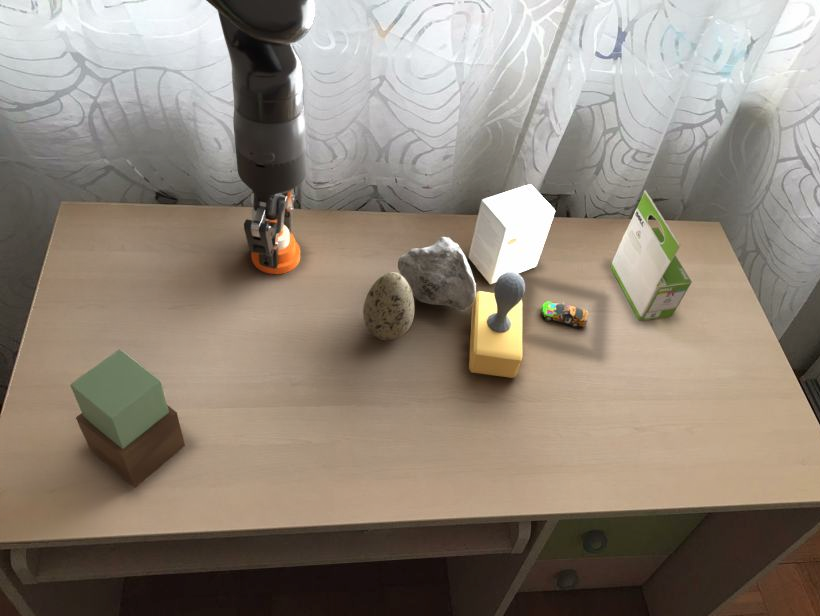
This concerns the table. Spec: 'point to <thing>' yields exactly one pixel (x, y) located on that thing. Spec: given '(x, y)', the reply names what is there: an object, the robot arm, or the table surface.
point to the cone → (282, 253)
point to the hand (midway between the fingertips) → (275, 250)
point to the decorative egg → (389, 307)
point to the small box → (510, 232)
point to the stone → (439, 274)
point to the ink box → (650, 265)
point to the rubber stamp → (498, 328)
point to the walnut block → (136, 447)
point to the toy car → (564, 314)
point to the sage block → (120, 398)
